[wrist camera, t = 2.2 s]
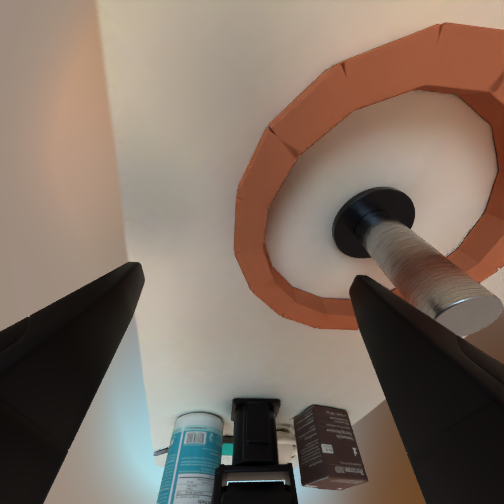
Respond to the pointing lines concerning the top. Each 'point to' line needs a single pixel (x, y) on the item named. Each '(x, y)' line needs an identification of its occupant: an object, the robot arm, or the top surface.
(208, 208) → the top surface
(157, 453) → the pen
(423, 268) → the post stand
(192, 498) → the pill bottle
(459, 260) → the ring
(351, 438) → the box
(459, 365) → the robot arm
